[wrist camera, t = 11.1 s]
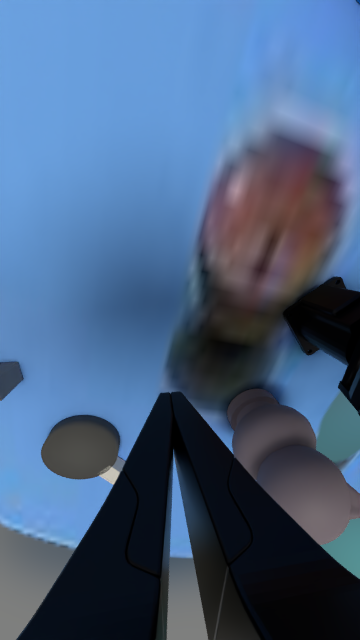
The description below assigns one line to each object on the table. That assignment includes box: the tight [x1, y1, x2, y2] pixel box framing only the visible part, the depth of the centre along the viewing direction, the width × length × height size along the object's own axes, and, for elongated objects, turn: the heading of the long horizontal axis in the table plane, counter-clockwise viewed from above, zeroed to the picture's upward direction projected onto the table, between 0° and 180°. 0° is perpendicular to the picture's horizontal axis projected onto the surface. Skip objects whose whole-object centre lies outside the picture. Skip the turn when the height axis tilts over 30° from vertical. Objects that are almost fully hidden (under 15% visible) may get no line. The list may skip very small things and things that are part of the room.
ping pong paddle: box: [41, 415, 125, 485], centre depth 23 cm, size 10×8×2 cm
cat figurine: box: [227, 389, 360, 545], centre depth 19 cm, size 8×8×12 cm
